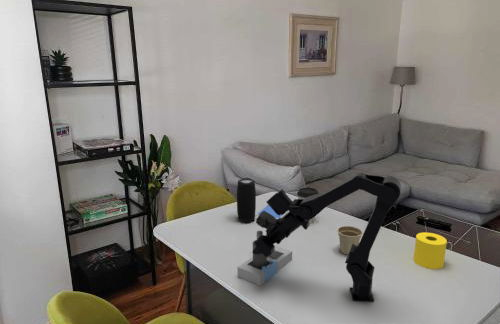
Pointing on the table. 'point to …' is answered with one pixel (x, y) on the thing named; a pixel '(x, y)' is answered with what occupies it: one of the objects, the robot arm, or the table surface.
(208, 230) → the table surface
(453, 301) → the table surface
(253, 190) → the portable speaker
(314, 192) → the coffee cup
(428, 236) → the yellow toilet paper roll
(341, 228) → the flower pot
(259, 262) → the plug
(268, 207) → the blue flat slab
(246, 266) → the cinder block
